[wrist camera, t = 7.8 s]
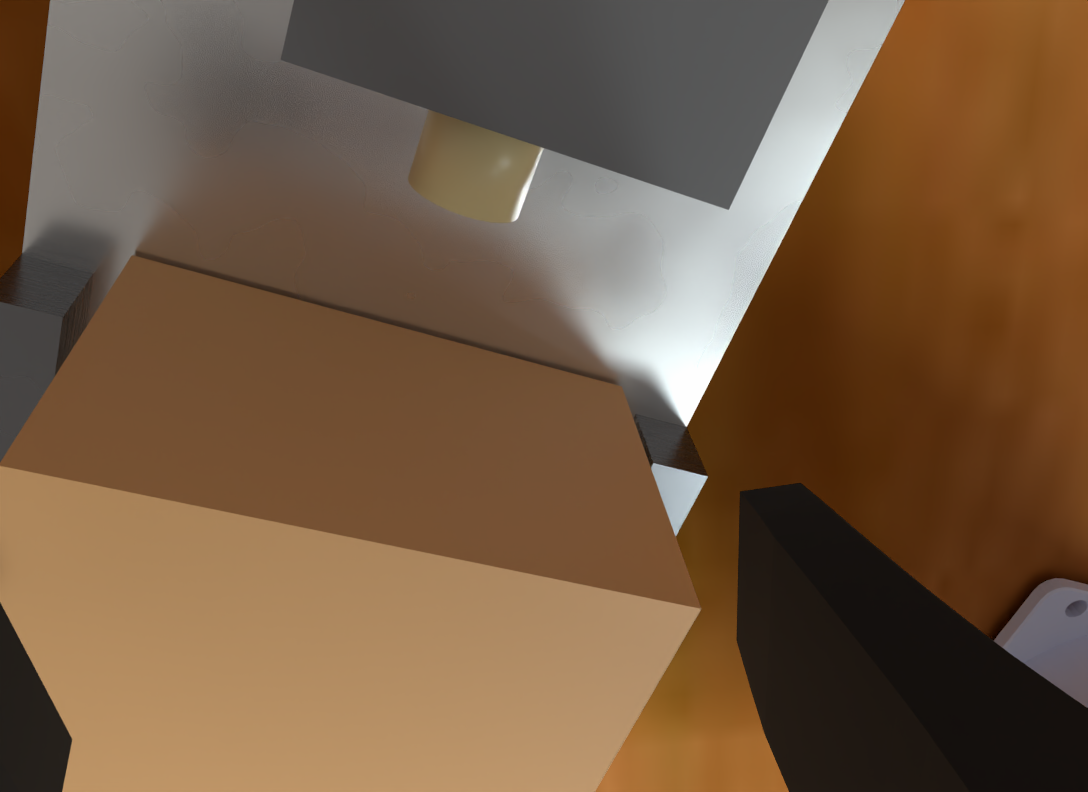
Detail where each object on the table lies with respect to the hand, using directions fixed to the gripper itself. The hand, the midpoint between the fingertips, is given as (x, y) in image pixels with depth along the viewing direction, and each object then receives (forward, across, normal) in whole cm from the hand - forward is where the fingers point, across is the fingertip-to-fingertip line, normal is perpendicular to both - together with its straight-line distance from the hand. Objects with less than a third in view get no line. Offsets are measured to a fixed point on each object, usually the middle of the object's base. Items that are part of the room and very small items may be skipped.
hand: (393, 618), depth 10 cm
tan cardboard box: (+7, +2, +4) cm, 8 cm away
